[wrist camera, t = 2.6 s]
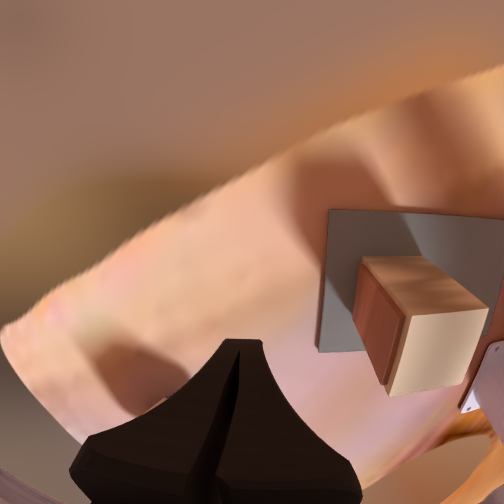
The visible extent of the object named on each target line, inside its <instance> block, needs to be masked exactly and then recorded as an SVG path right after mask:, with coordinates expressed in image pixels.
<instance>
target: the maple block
mask: <svg viewBox="0 0 504 504" xmlns="http://www.w3.org/2000/svg"><path fill="white" fill-rule="evenodd" d="M488 310H489V308H488V307H487V306H486V305H485V304H484V303H482V302H481V301H480V300H479V299H478V298H476V297H475V296H474V295H473V294H471V293H470V292H469V291H468V290H466V289H465V288H464V287H463V286H461V285H460V284H459V283H458V282H456V281H455V280H454V279H453V278H451V277H450V276H449V275H447V274H446V273H445V272H443V271H442V270H441V269H439V268H438V267H437V266H435V265H434V264H433V263H431V262H430V261H429V260H427V259H426V258H425V257H423V256H362V261H361V264H359V267H358V276H357V285H356V293H355V301H354V308H353V315H352V320H353V322H354V324H355V326H356V328H357V331H358V333H359V335H360V337H361V340H362V342H363V344H364V347H365V349H366V351H367V353H368V356H369V358H370V360H371V363H372V365H373V368H374V370H375V372H376V375H377V377H378V380H379V382H380V384H381V385H384V387H385V390H386V392H387V394H388V397H391V396H398V395H405V394H411V393H417V392H423V391H428V390H433V389H438V388H443V387H448V386H452V385H457V384H461V383H462V381H463V378H464V376H465V374H466V371H467V369H468V367H469V364H470V362H471V359H472V357H473V354H474V352H475V349H476V346H477V344H478V341H479V338H480V335H481V332H482V329H483V326H484V323H485V320H486V317H487V314H488Z"/></svg>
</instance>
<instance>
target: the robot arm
mask: <svg viewBox="0 0 504 504" xmlns="http://www.w3.org/2000/svg"><path fill="white" fill-rule="evenodd" d="M479 408H481V409H482V411H483V412H484V414H485V416H486V417H487V419H488V420H489V422H490V424H491V425H492V427H493V428H494V430H495V432H496V433H497V435H498V437H499V438H500V440H501V442H502V444H503V445H504V340H503V341H499V342H494V343H492V344H490V345H489V346H488V348H487V351H486V353H485V356H484V358H483V361H482V363H481V366H480V368H479V370H478V372H477V375H476V377H475V379H474V381H473V383H472V386H471V388H470V390H469V392H468V394H467V396H466V398H465V400H464V402H463V404H462V406H461V407H460V410H459V411H460V413H466V412H469V411H472V410H476V409H479ZM69 473H70V476H71V478H72V479H73V481H74V482H75V484H77V486H78V487H79V488H80V489H81V490H82V491H83V492H84V494H85V495H86V496H87V497H88V498H89V499H90V500H91V501H92V502H91V504H360V503H361V500H362V497H363V495H362V489H361V486H360V483H359V480H358V478H357V475H356V473H355V471H354V469H353V467H352V465H351V463H350V461H349V460H347V459H346V458H344V457H343V456H342V455H340V454H339V453H337V452H336V451H335V450H334V449H332V448H331V447H330V446H329V445H327V444H326V443H325V442H324V441H323V440H322V439H321V438H319V437H318V436H317V435H316V434H315V433H314V432H313V431H312V430H311V429H310V427H309V426H308V425H307V424H306V423H305V422H304V421H303V420H302V419H301V418H300V417H299V415H298V414H297V413H296V412H295V410H294V409H293V408H292V406H291V405H290V404H289V402H288V401H287V399H286V398H285V396H284V395H283V393H282V392H281V390H280V388H279V386H278V385H277V383H276V381H275V379H274V377H273V375H272V373H271V370H270V368H269V366H268V363H267V361H266V358H265V355H264V351H263V342H262V341H261V340H260V339H225V340H224V341H223V342H222V344H221V345H220V346H219V348H218V349H217V350H216V352H215V353H214V354H213V355H212V357H211V358H210V359H209V360H208V361H207V362H206V364H205V365H204V366H203V367H202V368H201V369H200V370H199V371H198V372H197V373H196V374H195V375H194V376H193V377H192V378H191V379H190V380H189V381H188V382H187V383H186V384H185V385H184V386H183V387H182V388H181V389H179V390H178V391H177V392H176V393H174V394H173V395H172V396H171V397H169V398H168V399H167V400H165V401H164V402H162V403H161V404H159V405H158V406H156V407H155V408H153V409H151V410H150V411H148V412H146V413H145V414H143V415H141V416H139V417H137V418H135V419H133V420H131V421H129V422H126V423H124V424H122V425H120V426H117V427H115V428H112V429H109V430H106V431H103V432H100V433H97V434H94V435H90V436H89V437H88V438H87V439H86V441H85V442H84V444H83V445H82V447H81V449H80V451H79V452H78V454H77V456H76V458H75V459H74V461H73V463H72V465H71V467H70V468H69ZM0 504H65V503H63V502H61V501H59V500H57V499H55V498H53V497H51V496H49V495H47V494H45V493H43V492H41V491H40V490H37V489H36V488H34V487H32V486H30V485H29V484H27V483H25V482H24V481H22V480H20V479H19V478H17V477H16V476H14V475H12V474H11V473H9V472H8V471H6V470H5V469H3V468H1V467H0ZM478 504H504V484H503V485H501V486H499V487H498V488H496V489H495V490H494V491H492V492H491V493H490V494H489V495H488V496H487V497H486V498H485V499H484V500H483V501H482V502H480V503H478Z"/></svg>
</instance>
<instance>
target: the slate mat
mask: <svg viewBox="0 0 504 504" xmlns="http://www.w3.org/2000/svg"><path fill="white" fill-rule="evenodd" d="M362 256H423V257H425V258H426V259H427V260H429V261H430V262H431V263H433V264H434V265H435V266H437V267H438V268H439V269H441V270H442V271H443V272H445V273H446V274H447V275H449V276H450V277H451V278H453V279H454V280H455V281H456V282H458V283H459V284H460V285H461V286H463V287H464V288H465V289H466V290H468V291H469V292H470V293H471V294H473V295H474V296H475V297H476V298H478V299H479V300H480V301H481V302H482V303H484V304H485V305H486V306H487V307H488V308H489V310H488V314H487V317H486V320H485V323H484V326H483V329H482V332H481V335H480V337H481V336H486V334H487V332H488V329H489V326H490V323H491V320H492V316H493V313H494V310H495V306H496V303H497V299H498V296H499V292H500V288H501V284H502V280H503V276H504V220H501V219H491V218H480V217H468V216H455V215H442V214H427V213H410V212H390V211H367V210H336V209H329V212H328V235H327V253H326V268H325V282H324V294H323V305H322V316H321V326H320V335H319V344H318V352H319V353H329V352H351V351H366V349H365V347H364V344H363V342H362V340H361V337H360V335H359V333H358V331H357V328H356V326H355V324H354V322H353V320H352V315H353V308H354V301H355V293H356V285H357V276H358V267H359V264H361V261H362Z"/></svg>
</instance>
